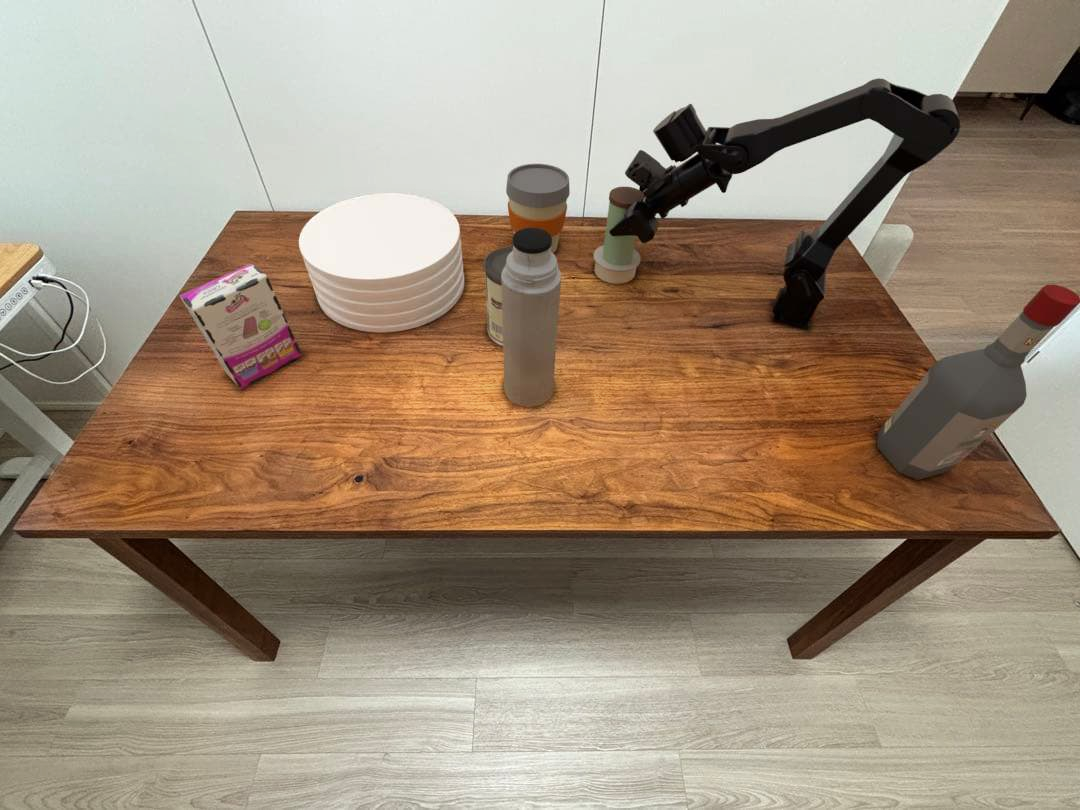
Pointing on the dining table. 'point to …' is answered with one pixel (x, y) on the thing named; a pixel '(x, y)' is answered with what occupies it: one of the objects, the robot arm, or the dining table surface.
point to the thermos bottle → (530, 317)
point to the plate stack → (384, 261)
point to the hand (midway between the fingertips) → (615, 225)
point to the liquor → (969, 393)
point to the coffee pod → (615, 268)
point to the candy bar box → (243, 324)
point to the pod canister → (616, 247)
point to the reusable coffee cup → (538, 199)
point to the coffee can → (495, 291)
